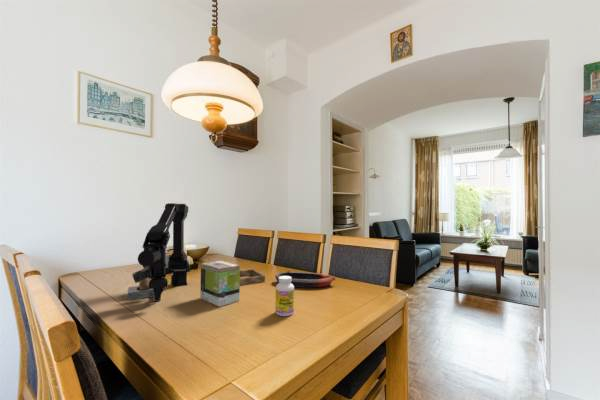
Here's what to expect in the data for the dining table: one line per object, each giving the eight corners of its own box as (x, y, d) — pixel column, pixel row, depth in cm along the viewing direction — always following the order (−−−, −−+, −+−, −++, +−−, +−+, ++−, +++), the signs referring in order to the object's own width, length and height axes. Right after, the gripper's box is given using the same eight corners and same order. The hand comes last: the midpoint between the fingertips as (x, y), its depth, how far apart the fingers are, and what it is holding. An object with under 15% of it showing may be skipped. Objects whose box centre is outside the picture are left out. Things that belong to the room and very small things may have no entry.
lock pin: (159, 292, 119) (159, 284, 120) (160, 300, 109) (160, 292, 109) (152, 293, 118) (152, 285, 118) (152, 301, 108) (153, 293, 108)
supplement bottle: (276, 317, 93) (276, 280, 93) (274, 310, 99) (274, 275, 100) (295, 316, 94) (295, 279, 95) (292, 309, 101) (292, 274, 101)
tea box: (240, 301, 109) (240, 264, 110) (218, 307, 102) (218, 268, 103) (220, 292, 120) (221, 259, 120) (199, 298, 112) (199, 262, 113)
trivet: (253, 274, 152) (253, 269, 152) (264, 281, 138) (264, 275, 138) (223, 278, 144) (223, 272, 144) (232, 286, 129) (232, 280, 129)
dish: (280, 278, 145) (280, 269, 145) (337, 282, 137) (337, 272, 137) (269, 286, 130) (269, 276, 130) (333, 291, 122) (333, 280, 122)
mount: (159, 290, 123) (159, 283, 123) (160, 295, 116) (160, 288, 116) (128, 294, 117) (128, 287, 118) (127, 300, 110) (127, 293, 110)
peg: (149, 292, 119) (150, 272, 120) (149, 295, 116) (150, 274, 116) (139, 294, 117) (139, 273, 118) (139, 297, 114) (139, 275, 114)
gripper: (134, 258, 112) (134, 296, 111) (133, 267, 95) (132, 312, 95) (164, 256, 117) (164, 292, 117) (167, 264, 101) (167, 306, 100)
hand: (157, 300), depth 107 cm, fingers closed
